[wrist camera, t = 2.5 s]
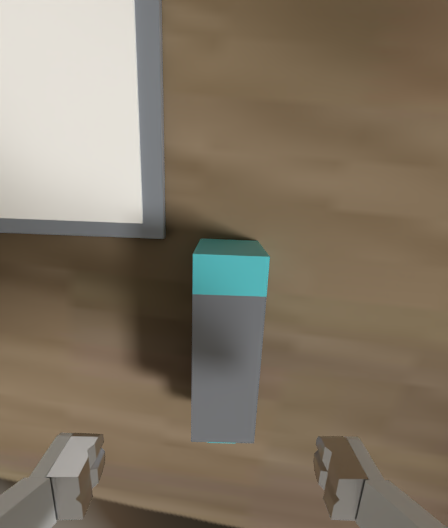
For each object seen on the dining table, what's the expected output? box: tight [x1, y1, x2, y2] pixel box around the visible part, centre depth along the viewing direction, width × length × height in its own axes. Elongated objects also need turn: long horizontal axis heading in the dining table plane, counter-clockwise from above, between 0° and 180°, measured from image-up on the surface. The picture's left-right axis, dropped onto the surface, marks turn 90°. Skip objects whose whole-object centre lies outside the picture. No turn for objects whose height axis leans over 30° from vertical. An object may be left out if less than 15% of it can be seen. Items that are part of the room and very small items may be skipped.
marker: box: [191, 239, 270, 443], centre depth 16 cm, size 13×4×4 cm, turn 178°
